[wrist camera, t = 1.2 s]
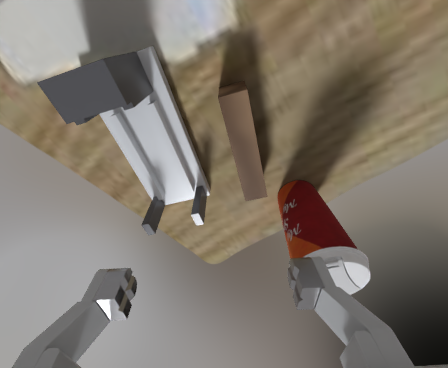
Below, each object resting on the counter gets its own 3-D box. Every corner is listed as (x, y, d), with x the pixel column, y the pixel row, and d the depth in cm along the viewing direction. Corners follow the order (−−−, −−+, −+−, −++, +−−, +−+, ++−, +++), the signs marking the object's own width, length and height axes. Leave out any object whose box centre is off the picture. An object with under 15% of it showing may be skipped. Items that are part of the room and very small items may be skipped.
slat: (243, 80, 25) (247, 89, 21) (262, 176, 33) (267, 196, 29) (219, 87, 26) (218, 97, 22) (243, 180, 34) (245, 201, 30)
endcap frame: (153, 46, 23) (120, 52, 16) (210, 189, 34) (206, 231, 27) (82, 71, 25) (21, 88, 17) (158, 200, 36) (141, 244, 28)
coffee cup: (265, 182, 34) (287, 269, 21) (319, 167, 32) (377, 250, 20) (276, 219, 38) (301, 307, 26) (324, 207, 36) (375, 295, 24)
